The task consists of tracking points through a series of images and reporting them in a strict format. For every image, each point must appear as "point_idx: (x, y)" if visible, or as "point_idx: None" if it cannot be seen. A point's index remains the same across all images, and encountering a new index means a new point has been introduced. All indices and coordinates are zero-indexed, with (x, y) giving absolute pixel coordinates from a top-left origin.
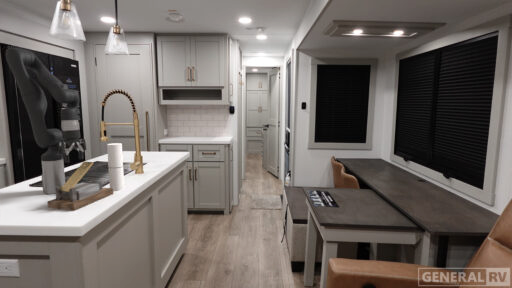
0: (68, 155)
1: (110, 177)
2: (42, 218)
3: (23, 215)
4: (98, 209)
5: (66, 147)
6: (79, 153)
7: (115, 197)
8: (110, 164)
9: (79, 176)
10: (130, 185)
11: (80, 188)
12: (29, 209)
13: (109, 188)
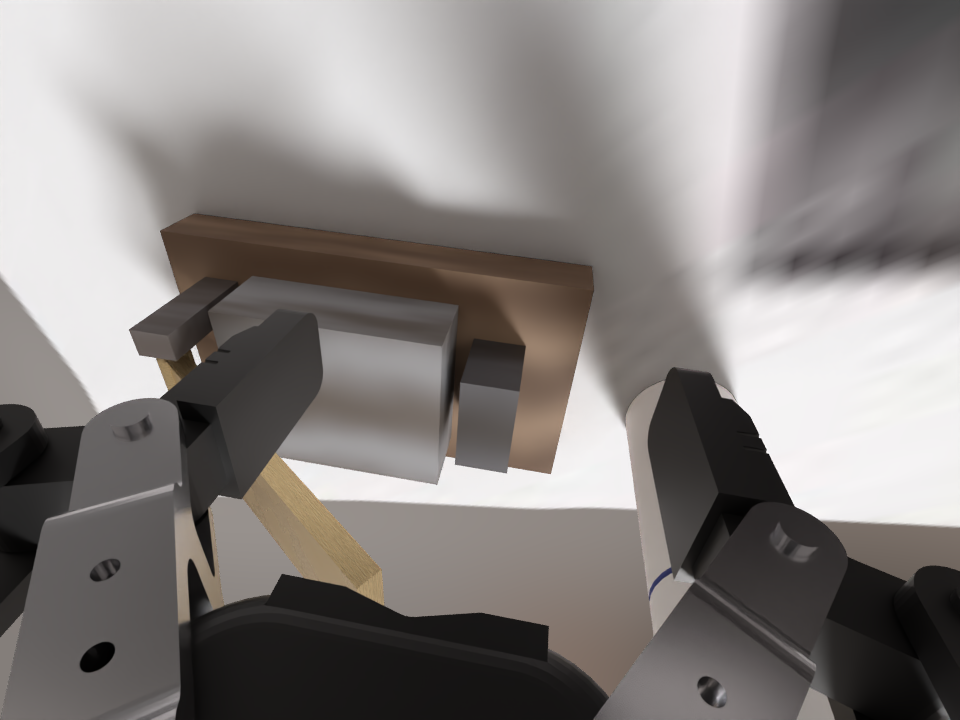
0: (237, 489)
1: (646, 486)
2: (96, 311)
3: (39, 160)
4: (304, 477)
5: (120, 650)
6: (691, 497)
7: (486, 477)
8: (658, 625)
9: (250, 503)
10: (783, 465)
11: (294, 431)
12: (104, 91)
13: (544, 457)
